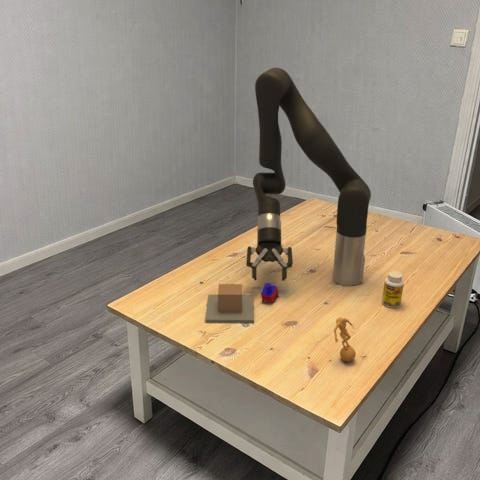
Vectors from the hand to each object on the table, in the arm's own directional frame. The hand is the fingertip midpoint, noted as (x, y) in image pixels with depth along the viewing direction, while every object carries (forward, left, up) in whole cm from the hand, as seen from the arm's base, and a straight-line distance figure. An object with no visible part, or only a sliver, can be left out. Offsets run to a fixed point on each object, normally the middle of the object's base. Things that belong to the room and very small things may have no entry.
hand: (269, 280), depth 162 cm
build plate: (+12, +7, -6) cm, 15 cm away
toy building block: (0, +1, -7) cm, 7 cm away
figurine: (-18, +30, -7) cm, 35 cm away
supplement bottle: (-37, +3, -7) cm, 38 cm away
